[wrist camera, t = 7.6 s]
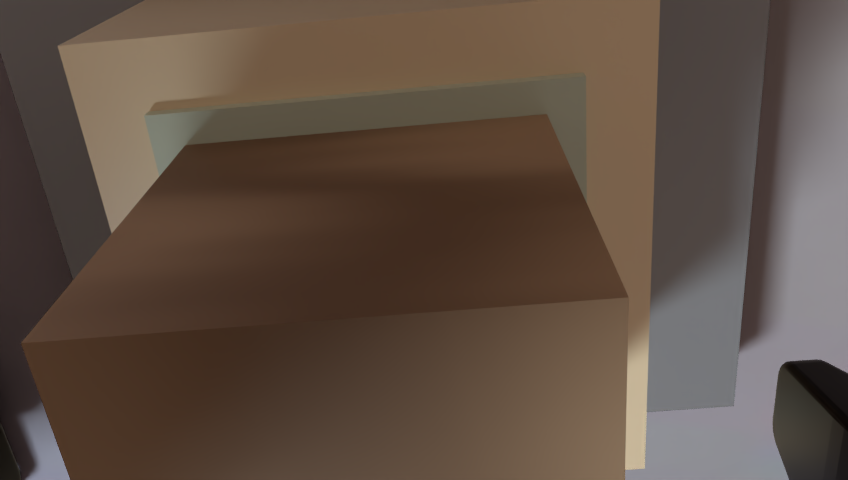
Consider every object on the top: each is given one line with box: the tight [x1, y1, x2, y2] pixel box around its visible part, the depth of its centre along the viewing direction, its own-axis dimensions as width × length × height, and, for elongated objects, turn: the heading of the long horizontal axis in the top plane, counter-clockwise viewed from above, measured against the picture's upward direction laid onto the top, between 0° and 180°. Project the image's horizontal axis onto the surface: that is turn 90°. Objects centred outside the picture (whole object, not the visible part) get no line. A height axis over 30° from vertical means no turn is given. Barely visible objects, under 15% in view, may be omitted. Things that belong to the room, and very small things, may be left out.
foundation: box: [0, 0, 771, 470], centre depth 15 cm, size 14×12×6 cm
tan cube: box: [21, 114, 629, 480], centre depth 10 cm, size 5×5×5 cm
